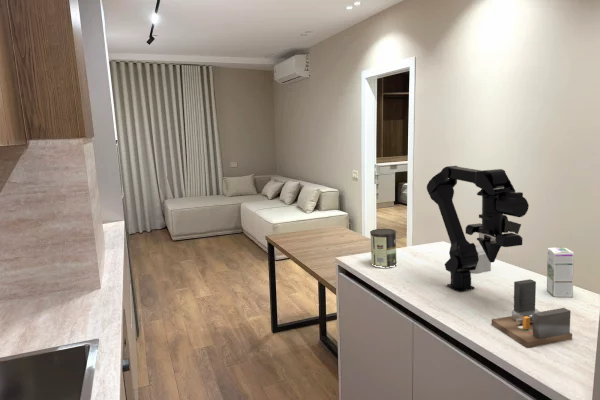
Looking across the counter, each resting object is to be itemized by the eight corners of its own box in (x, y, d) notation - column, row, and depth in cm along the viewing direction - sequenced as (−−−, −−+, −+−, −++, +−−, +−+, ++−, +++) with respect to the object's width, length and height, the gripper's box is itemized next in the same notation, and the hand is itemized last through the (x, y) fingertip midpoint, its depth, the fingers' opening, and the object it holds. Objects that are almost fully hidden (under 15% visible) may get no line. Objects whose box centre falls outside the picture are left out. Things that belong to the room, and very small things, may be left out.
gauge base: (491, 324, 114) (491, 298, 112) (532, 317, 116) (532, 292, 115) (527, 347, 101) (528, 319, 100) (572, 339, 103) (573, 311, 102)
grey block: (472, 274, 152) (473, 252, 151) (448, 265, 164) (448, 244, 163) (494, 270, 156) (495, 247, 154) (469, 261, 168) (469, 240, 166)
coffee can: (393, 260, 175) (393, 227, 172) (399, 268, 164) (398, 233, 162) (369, 261, 175) (368, 229, 173) (373, 269, 165) (372, 235, 163)
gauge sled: (507, 319, 112) (508, 282, 111) (530, 315, 114) (531, 279, 112) (522, 327, 107) (523, 289, 105) (546, 323, 109) (547, 285, 107)
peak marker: (522, 327, 107) (523, 316, 106) (526, 327, 107) (527, 316, 106) (525, 329, 106) (525, 318, 105) (529, 328, 106) (530, 317, 106)
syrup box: (573, 297, 128) (575, 252, 125) (552, 297, 129) (554, 252, 126) (565, 290, 133) (567, 247, 131) (545, 290, 134) (547, 247, 132)
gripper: (539, 214, 116) (538, 267, 118) (495, 204, 134) (494, 251, 136) (505, 218, 114) (504, 272, 116) (464, 207, 132) (464, 255, 134)
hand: (491, 261), depth 126 cm, fingers closed
